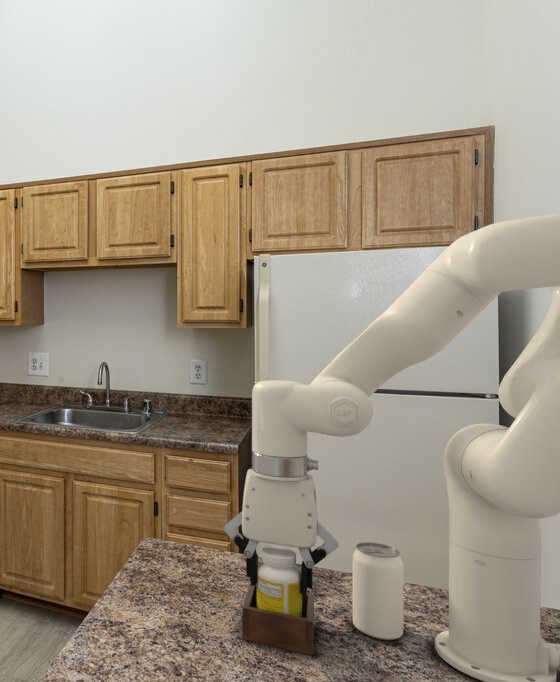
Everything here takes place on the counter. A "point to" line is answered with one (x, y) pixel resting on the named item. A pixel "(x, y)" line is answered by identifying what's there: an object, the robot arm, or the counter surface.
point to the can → (378, 591)
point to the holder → (279, 625)
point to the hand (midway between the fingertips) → (278, 585)
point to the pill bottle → (279, 582)
